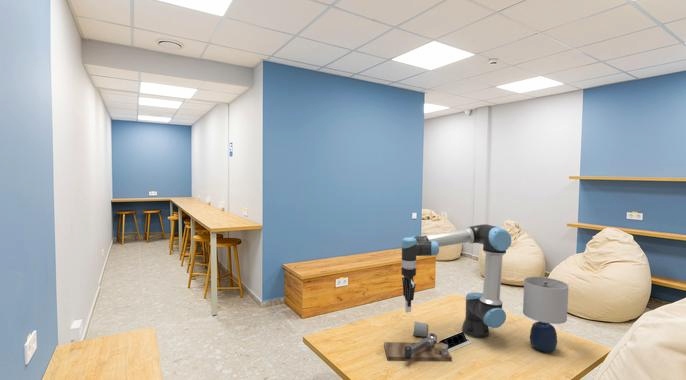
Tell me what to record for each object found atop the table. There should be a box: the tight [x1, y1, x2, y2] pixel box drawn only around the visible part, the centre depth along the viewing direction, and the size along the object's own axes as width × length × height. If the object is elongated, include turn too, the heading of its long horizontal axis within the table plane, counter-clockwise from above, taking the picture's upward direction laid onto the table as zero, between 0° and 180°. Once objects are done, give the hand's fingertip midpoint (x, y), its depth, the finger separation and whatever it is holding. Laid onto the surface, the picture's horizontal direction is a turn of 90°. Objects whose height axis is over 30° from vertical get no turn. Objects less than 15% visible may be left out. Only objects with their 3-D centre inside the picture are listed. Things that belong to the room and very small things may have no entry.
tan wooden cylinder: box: [435, 344, 442, 354], centre depth 180 cm, size 4×4×4 cm
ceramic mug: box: [413, 321, 429, 338], centre depth 204 cm, size 11×8×8 cm
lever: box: [404, 332, 438, 359], centre depth 180 cm, size 26×5×5 cm, turn 134°
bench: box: [383, 341, 453, 362], centre depth 183 cm, size 32×15×6 cm, turn 90°
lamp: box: [522, 276, 569, 353], centre depth 188 cm, size 20×20×37 cm
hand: (408, 311), depth 186 cm, fingers closed
